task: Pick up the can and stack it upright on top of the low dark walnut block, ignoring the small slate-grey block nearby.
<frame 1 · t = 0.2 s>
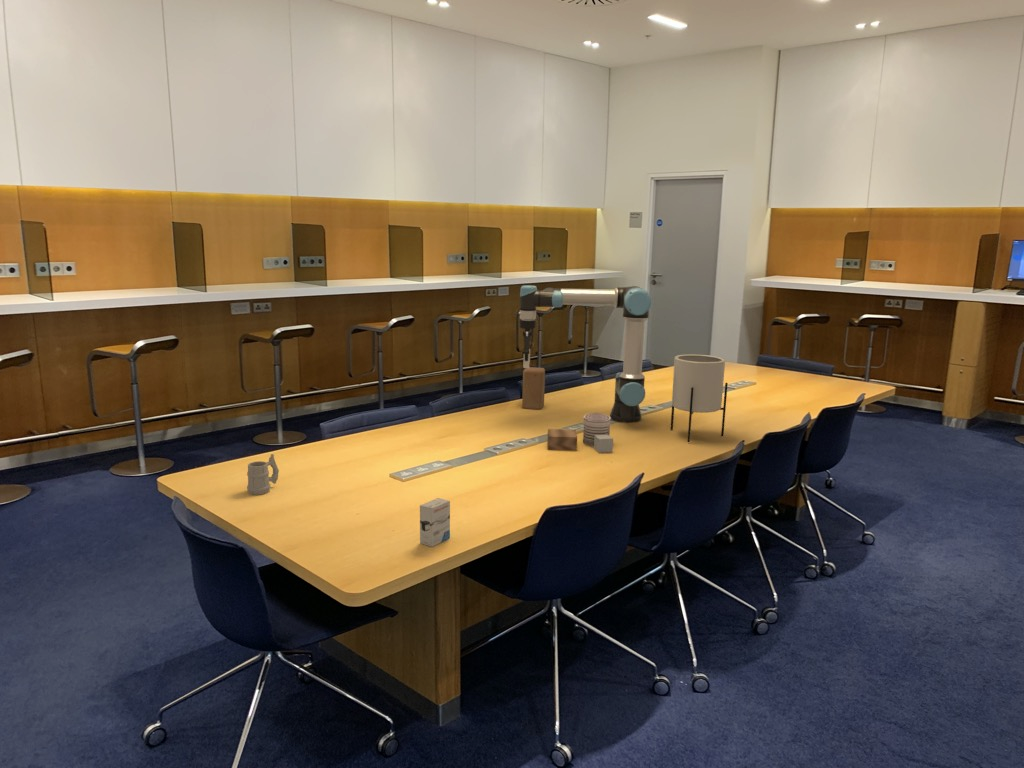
hand: (526, 365, 354), 28 cm above the table, fingers open, 13 cm apart
ink box: (435, 541, 224), on the table
slate block: (603, 450, 318), on the table
plant pot with stand: (693, 437, 343), on the table
walnut block: (561, 446, 323), on the table
wooden block: (533, 407, 392), on the table
mug: (264, 490, 263), on the table
can: (596, 443, 329), on the table
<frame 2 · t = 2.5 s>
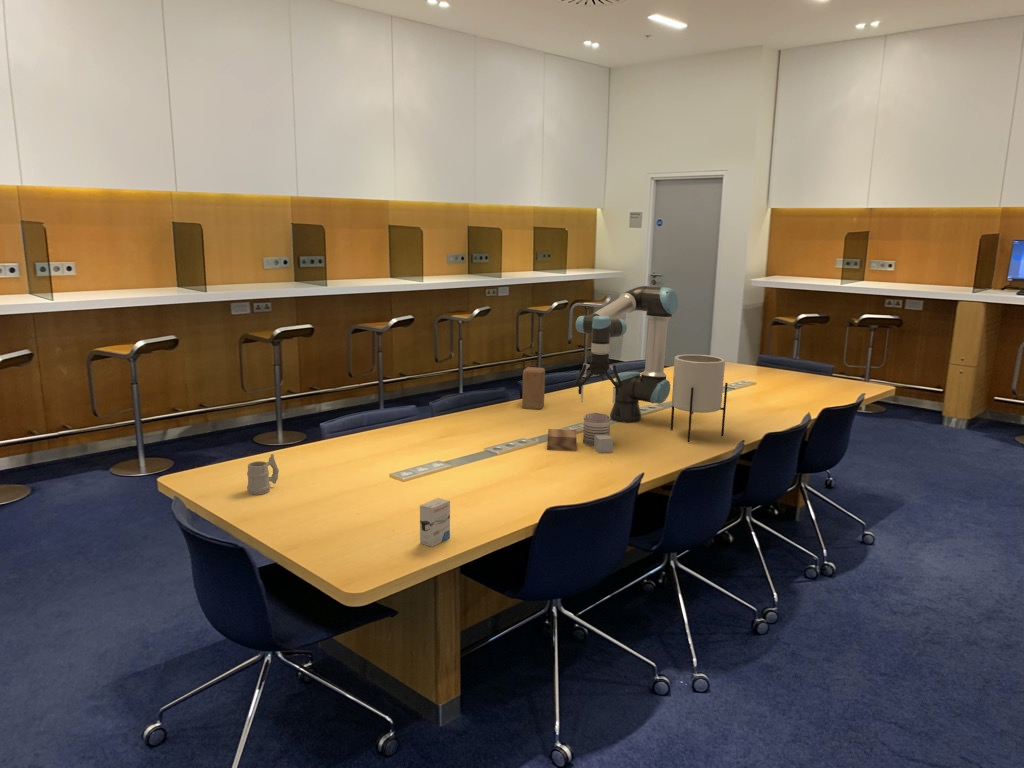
hand: (597, 402, 325), 18 cm above the table, fingers open, 13 cm apart
nothing on the table moved.
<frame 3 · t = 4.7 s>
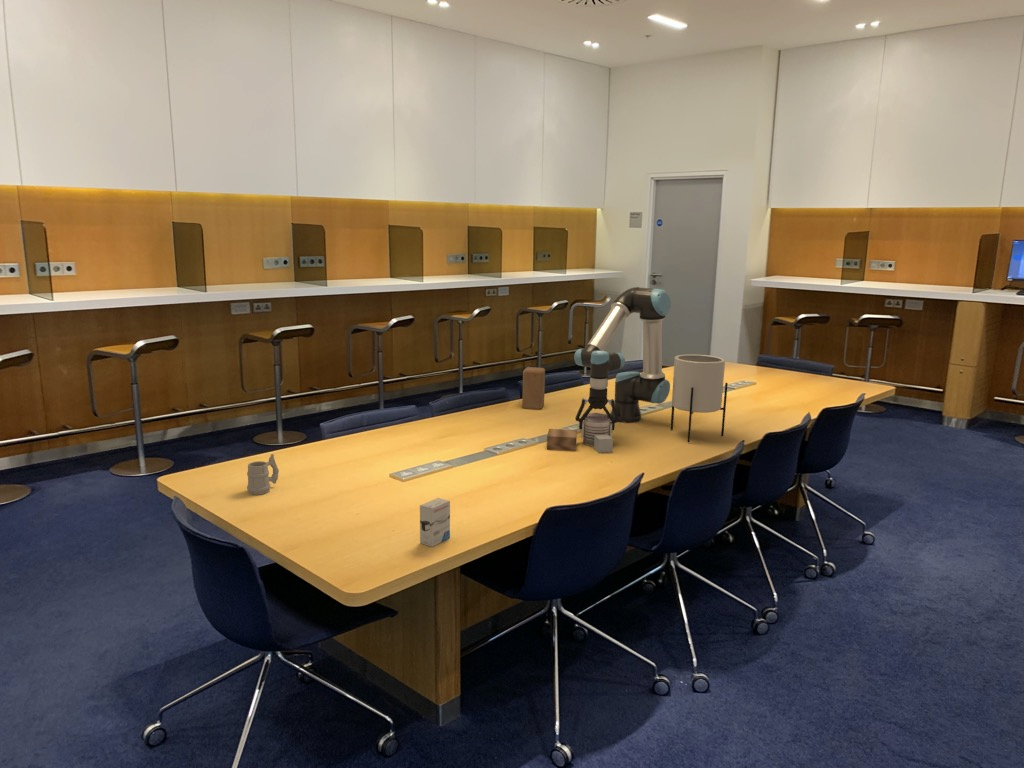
hand: (596, 437, 328), 3 cm above the table, fingers closed on can, 11 cm apart
can: (596, 443, 329), on the table, touching gripper
everything else where it was.
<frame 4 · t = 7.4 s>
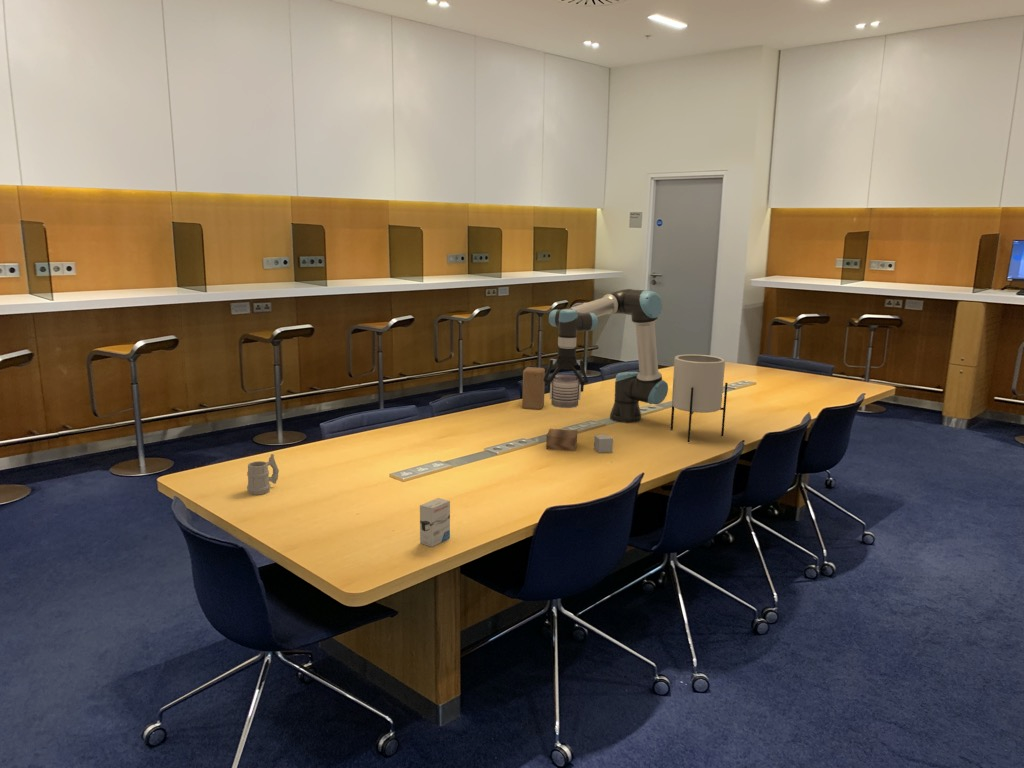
hand: (564, 398, 319), 20 cm above the table, fingers closed on can, 11 cm apart
can: (564, 405, 320), point 18 cm above the table, touching gripper
everything else where it was.
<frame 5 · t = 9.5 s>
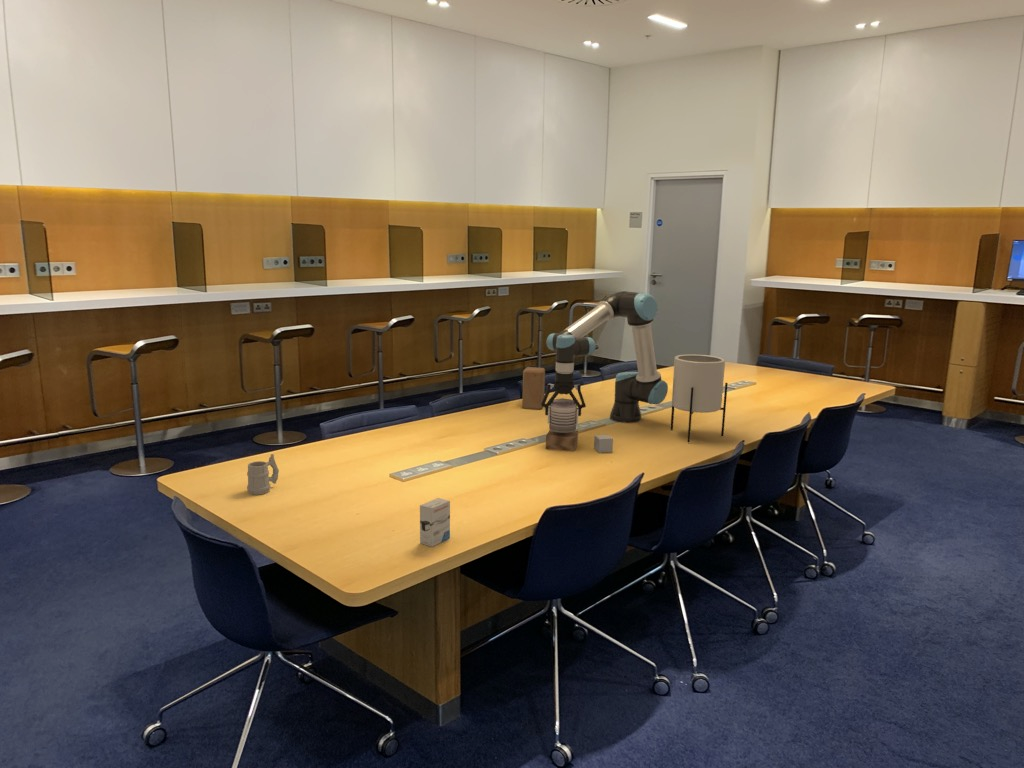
hand: (562, 423, 321), 10 cm above the table, fingers closed on can, 11 cm apart
can: (562, 429, 322), point 7 cm above the table, touching gripper
everything else where it was.
when the fingers open (10 cm above the table, at t = 10.5 s): can stays where it is, point 6 cm above the table.
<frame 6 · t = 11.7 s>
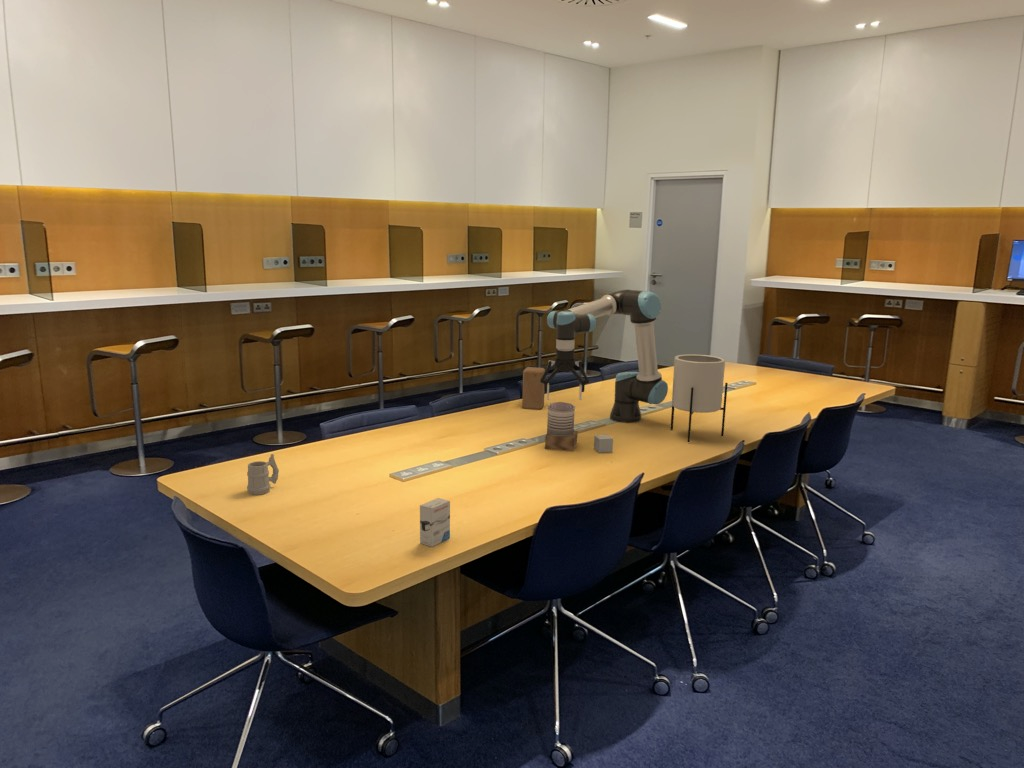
hand: (564, 399, 320), 20 cm above the table, fingers open, 13 cm apart
can: (560, 433, 322), point 6 cm above the table
everything else where it was.
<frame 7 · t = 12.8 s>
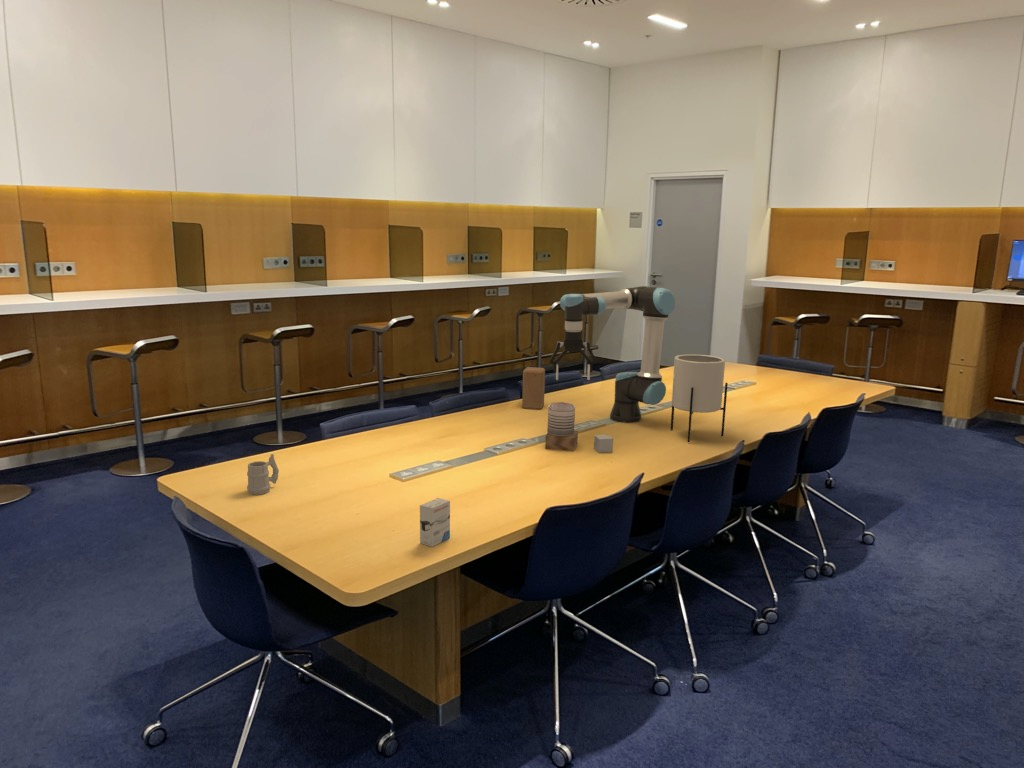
hand: (572, 379, 330), 27 cm above the table, fingers open, 13 cm apart
walnut block: (561, 446, 323), on the table, touching can
can: (560, 433, 322), point 6 cm above the table, touching walnut block
everything else where it was.
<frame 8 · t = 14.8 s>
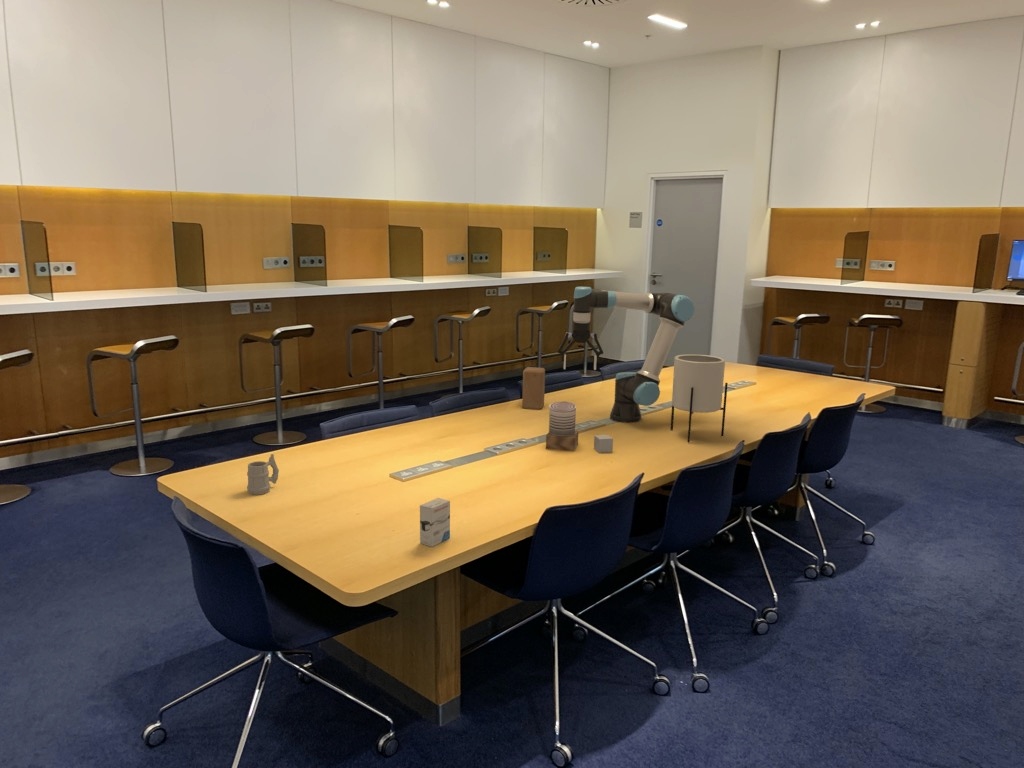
hand: (579, 369, 342), 29 cm above the table, fingers open, 13 cm apart
at the end: can inside the target area on the walnut block (0.5 cm from its centre), point 6.0 cm above the walnut block's base; can tilted 2°; the gripper is holding nothing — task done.
